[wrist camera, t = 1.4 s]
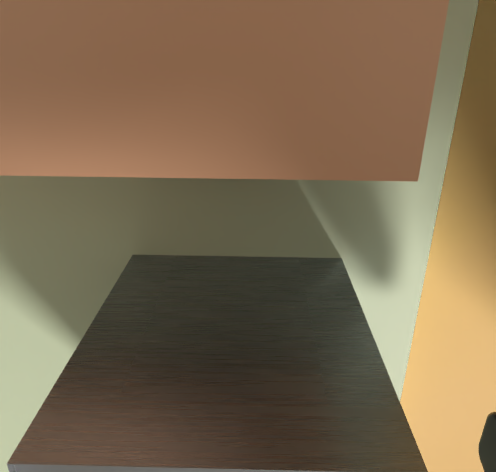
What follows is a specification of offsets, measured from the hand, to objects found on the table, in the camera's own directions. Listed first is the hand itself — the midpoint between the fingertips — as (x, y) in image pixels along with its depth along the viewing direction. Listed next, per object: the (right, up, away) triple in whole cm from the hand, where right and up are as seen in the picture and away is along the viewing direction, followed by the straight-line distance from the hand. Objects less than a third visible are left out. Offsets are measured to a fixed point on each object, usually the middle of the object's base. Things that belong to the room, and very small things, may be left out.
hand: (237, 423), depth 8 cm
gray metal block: (0, +1, +2) cm, 2 cm away
